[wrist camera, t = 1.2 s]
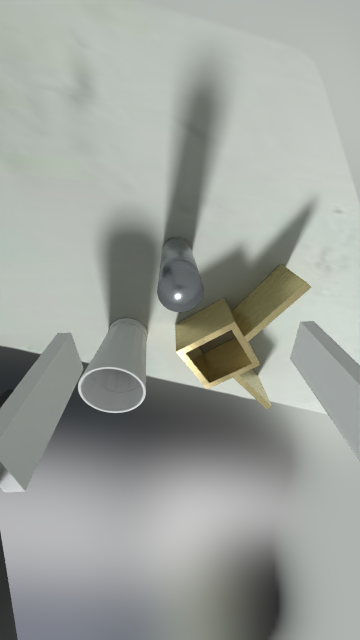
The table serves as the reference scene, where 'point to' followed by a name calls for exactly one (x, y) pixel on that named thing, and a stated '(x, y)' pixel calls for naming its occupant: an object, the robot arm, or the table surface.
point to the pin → (179, 277)
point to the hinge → (236, 332)
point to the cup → (117, 369)
